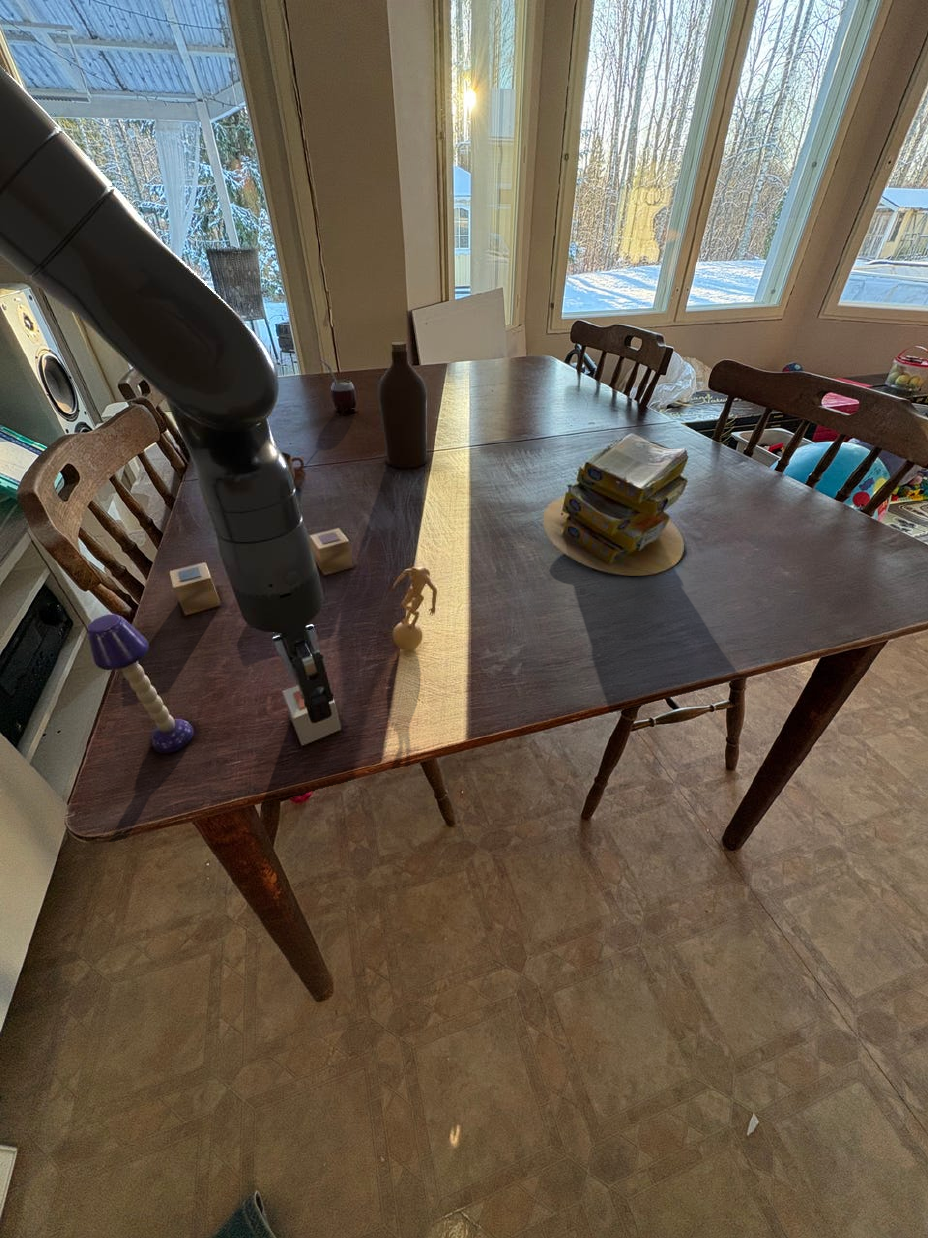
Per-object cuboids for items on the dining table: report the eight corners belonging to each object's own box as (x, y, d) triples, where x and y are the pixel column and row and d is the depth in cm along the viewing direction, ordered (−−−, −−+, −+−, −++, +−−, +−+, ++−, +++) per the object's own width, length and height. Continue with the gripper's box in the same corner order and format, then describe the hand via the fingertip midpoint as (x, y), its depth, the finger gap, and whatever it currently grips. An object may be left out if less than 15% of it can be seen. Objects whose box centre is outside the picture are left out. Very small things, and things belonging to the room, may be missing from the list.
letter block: (301, 746, 57) (292, 718, 54) (290, 718, 60) (281, 690, 57) (341, 729, 58) (335, 701, 55) (328, 703, 61) (321, 675, 59)
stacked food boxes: (713, 550, 89) (746, 456, 78) (608, 594, 79) (629, 492, 68) (612, 497, 105) (628, 413, 95) (514, 528, 95) (520, 438, 85)
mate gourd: (360, 408, 154) (353, 353, 144) (352, 416, 148) (345, 359, 138) (336, 407, 154) (328, 352, 145) (328, 415, 148) (318, 358, 139)
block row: (185, 615, 75) (172, 587, 72) (181, 598, 78) (169, 570, 75) (353, 567, 85) (349, 540, 82) (343, 553, 88) (338, 527, 85)
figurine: (378, 638, 71) (368, 565, 63) (413, 620, 74) (407, 548, 66) (416, 669, 66) (409, 593, 59) (451, 648, 69) (449, 574, 62)
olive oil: (396, 473, 115) (385, 350, 100) (377, 458, 123) (364, 341, 107) (437, 463, 120) (433, 344, 104) (417, 449, 127) (410, 336, 111)
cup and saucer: (283, 471, 117) (276, 444, 113) (319, 483, 111) (314, 455, 108) (238, 489, 109) (230, 461, 105) (275, 503, 104) (268, 474, 100)
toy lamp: (143, 758, 55) (68, 642, 45) (152, 726, 59) (84, 611, 48) (191, 748, 56) (128, 633, 46) (196, 717, 60) (139, 603, 49)
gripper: (215, 543, 49) (259, 665, 59) (246, 624, 39) (293, 753, 50) (292, 524, 52) (322, 643, 62) (339, 595, 42) (365, 722, 52)
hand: (309, 692), depth 56 cm, fingers open, 8 cm apart
